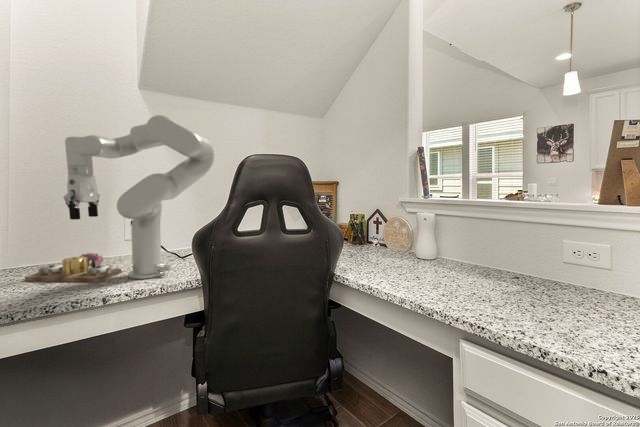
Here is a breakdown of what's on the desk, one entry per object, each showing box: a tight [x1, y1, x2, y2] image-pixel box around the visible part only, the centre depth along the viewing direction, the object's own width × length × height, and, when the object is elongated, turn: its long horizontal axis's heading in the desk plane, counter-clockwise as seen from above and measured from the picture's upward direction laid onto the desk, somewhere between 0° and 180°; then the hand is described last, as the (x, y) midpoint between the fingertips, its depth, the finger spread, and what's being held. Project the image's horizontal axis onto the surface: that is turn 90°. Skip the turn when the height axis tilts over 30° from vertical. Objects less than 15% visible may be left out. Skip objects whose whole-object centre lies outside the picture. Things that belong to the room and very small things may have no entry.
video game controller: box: [80, 252, 104, 267], centre depth 129 cm, size 10×5×7 cm, turn 85°
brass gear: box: [61, 255, 88, 275], centre depth 116 cm, size 7×7×5 cm
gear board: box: [24, 259, 123, 283], centre depth 116 cm, size 26×12×6 cm, turn 91°
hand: (84, 217), depth 118 cm, fingers open, 9 cm apart
